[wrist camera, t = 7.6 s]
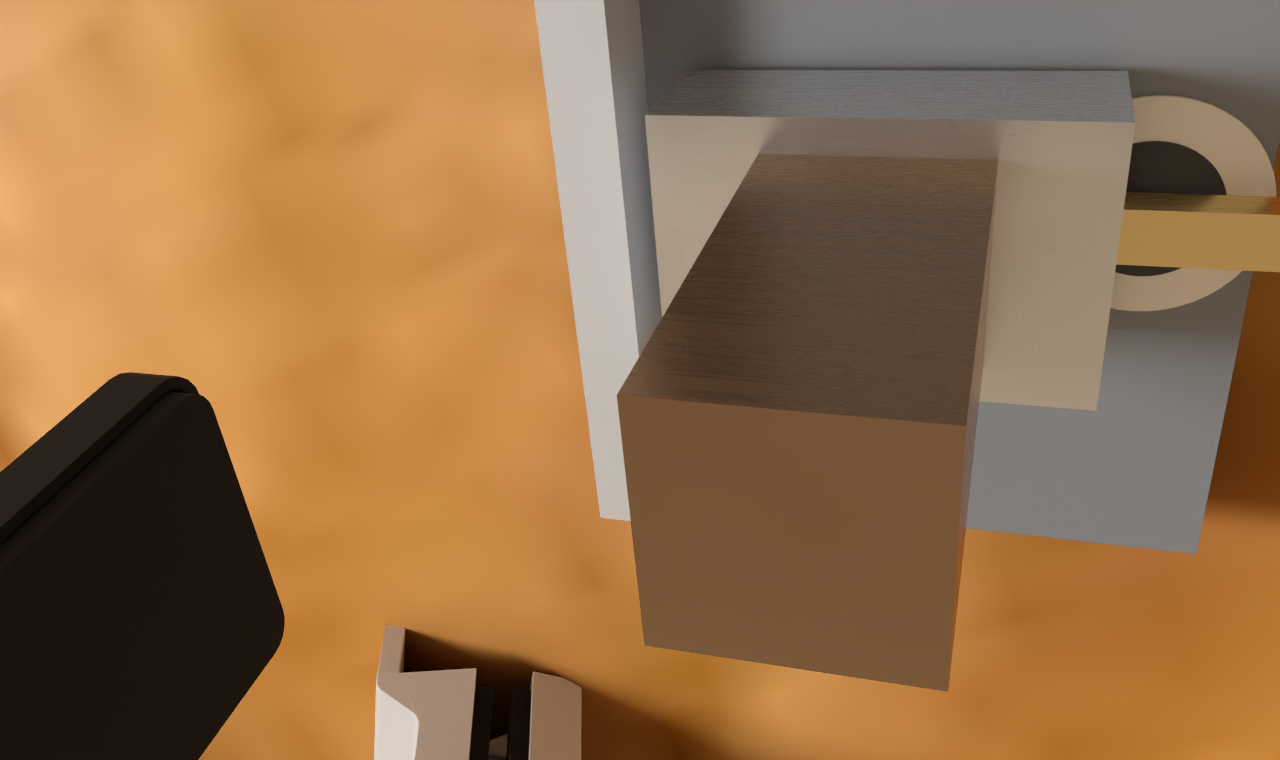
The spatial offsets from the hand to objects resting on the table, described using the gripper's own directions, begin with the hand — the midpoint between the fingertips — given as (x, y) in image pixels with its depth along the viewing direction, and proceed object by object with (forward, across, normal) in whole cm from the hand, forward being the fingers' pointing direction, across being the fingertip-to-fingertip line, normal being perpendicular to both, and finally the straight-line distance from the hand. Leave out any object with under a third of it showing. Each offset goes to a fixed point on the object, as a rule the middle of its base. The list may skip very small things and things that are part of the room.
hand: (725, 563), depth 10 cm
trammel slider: (+9, -2, +1) cm, 9 cm away
